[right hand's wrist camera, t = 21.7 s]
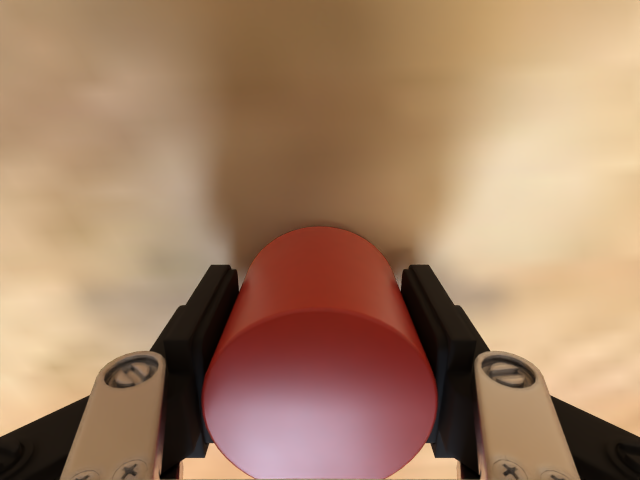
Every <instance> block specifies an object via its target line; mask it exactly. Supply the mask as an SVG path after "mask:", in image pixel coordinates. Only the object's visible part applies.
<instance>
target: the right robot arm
mask: <svg viewBox="0 0 640 480" xmlns="http://www.w3.org/2000/svg"><path fill="white" fill-rule="evenodd" d="M238 294H239V286H238V274H237V270H236V269H231V266H230V265H211V266H210V267H209V269H208V270H207V272H206V274H205V275H204V277H203V278H202V280H201V281H200V283H199V285H198V286H197V288H196V289H195V291H194V292H193V294H192V296H191V297H190V299H189V300H188V302H187V304H186V305H181V306H179V307H178V309H177V310H176V312H175V313H174V315H173V316H172V318H171V319H170V321H169V322H168V324H167V325H166V327H165V328H164V330H163V331H162V333H161V334H160V336H159V337H158V339H157V340H156V342H155V343H154V345H153V346H152V348H151V349H150V351H138V352H133V353H129V354H125V355H123V356H121V357H118V358H116V359H114V360H113V361H111V362H109V363H108V364H107V365H106V366H105V367H103V368H102V369H101V370H100V372H99V374H98V375H97V377H96V380H95V383H94V386H93V388H92V391H91V394H90V395H89V396H87V397H85V398H83V399H81V400H78V401H76V402H74V403H72V404H70V405H68V406H66V407H64V408H61V409H59V410H57V411H55V412H53V413H51V414H49V415H46V416H44V417H42V418H40V419H38V420H36V421H34V422H32V423H29V424H27V425H25V426H23V427H21V428H19V429H17V430H14V431H12V432H10V433H8V434H6V435H4V436H2V437H0V480H640V437H638V436H636V435H634V434H632V433H630V432H628V431H625V430H623V429H621V428H619V427H617V426H615V425H613V424H610V423H608V422H606V421H604V420H602V419H600V418H598V417H595V416H593V415H591V414H589V413H587V412H585V411H583V410H581V409H578V408H576V407H574V406H572V405H570V404H568V403H566V402H563V401H561V400H559V399H557V398H555V397H553V396H551V395H550V394H549V391H548V388H547V386H546V383H545V380H544V377H543V375H542V374H541V372H540V370H539V369H538V368H537V367H535V366H534V365H533V364H532V363H531V362H529V361H527V360H526V359H524V358H522V357H519V356H517V355H515V354H511V353H507V352H502V351H490V350H489V348H488V347H487V345H486V344H485V342H484V341H483V339H482V338H481V336H480V335H479V333H478V332H477V330H476V329H475V327H474V325H473V324H472V322H471V321H470V319H469V318H468V316H467V315H466V313H465V312H464V310H463V309H462V308H461V307H460V306H458V305H454V304H453V302H452V301H451V299H450V298H449V296H448V294H447V293H446V291H445V290H444V288H443V287H442V285H441V283H440V282H439V280H438V279H437V277H436V275H435V274H434V272H433V271H432V269H431V268H430V266H429V265H410V266H409V269H404V270H403V273H402V283H401V294H402V296H403V299H404V301H405V304H406V306H407V309H408V311H409V314H410V316H411V319H412V321H413V324H414V326H415V329H416V331H417V334H418V336H419V339H420V341H421V344H422V346H423V349H424V351H425V353H426V356H427V358H428V361H429V363H430V366H431V368H432V371H433V374H434V377H435V379H436V384H437V390H438V409H437V415H436V420H435V423H434V426H433V429H432V432H431V433H430V435H429V437H428V439H427V441H426V443H431V446H432V450H433V453H434V456H435V458H455V459H457V460H458V462H457V479H183V462H182V460H183V459H185V458H205V455H206V452H207V449H208V446H209V443H214V442H213V440H212V439H211V437H210V434H209V432H208V430H207V428H206V425H205V421H204V418H203V413H202V405H201V394H202V386H203V381H204V377H205V374H206V372H207V369H208V367H209V365H210V362H211V360H212V357H213V355H214V352H215V350H216V347H217V345H218V343H219V340H220V338H221V335H222V333H223V330H224V328H225V326H226V323H227V321H228V318H229V316H230V313H231V311H232V308H233V306H234V304H235V301H236V299H237V296H238Z"/></svg>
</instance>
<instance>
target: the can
mask: <svg viewBox="0 0 640 480" xmlns="http://www.w3.org/2000/svg"><path fill="white" fill-rule="evenodd" d="M201 405H202V413H203V418H204V421H205V425H206V428H207V430H208V432H209V434H210V437H211V439H212V440H213V442H214V443H215V445H216V446H217V448H218V449H219V450H220V452H221V453H222V454H223V455H224V456H225V457H226V458H227V459H228V460H229V461H230V462H231V463H232V464H233V465H235V466H236V467H237V468H238V469H240V470H241V471H243V472H244V473H246V474H247V475H249V476H251V477H253V478H254V479H385V478H387V477H389V476H391V475H392V474H394V473H395V472H397V471H399V470H400V469H401V468H403V467H404V466H405V465H406V464H407V463H409V462H410V461H411V460H412V459H413V458H414V457H415V456H416V455H417V453H418V452H419V451H420V450H421V448H422V447H423V446H424V444H425V443H426V441H427V439H428V437H429V435H430V433H431V432H432V429H433V426H434V423H435V420H436V415H437V409H438V390H437V384H436V379H435V377H434V374H433V371H432V368H431V366H430V363H429V361H428V358H427V356H426V353H425V351H424V349H423V346H422V344H421V341H420V339H419V336H418V334H417V331H416V329H415V326H414V324H413V321H412V319H411V316H410V314H409V311H408V309H407V306H406V304H405V301H404V299H403V296H402V294H401V291H400V289H399V287H398V284H397V282H396V279H395V277H394V274H393V272H392V269H391V267H390V265H389V264H388V262H387V260H386V259H385V258H384V256H383V255H382V254H381V252H380V251H379V250H378V249H377V248H376V247H375V246H373V245H372V244H371V243H370V242H368V241H367V240H365V239H364V238H362V237H360V236H358V235H356V234H354V233H352V232H349V231H346V230H343V229H339V228H333V227H322V226H315V227H306V228H301V229H297V230H294V231H291V232H288V233H286V234H284V235H282V236H280V237H278V238H276V239H275V240H273V241H272V242H270V243H269V244H268V245H267V246H265V247H264V248H263V249H262V250H261V251H260V252H259V254H258V255H257V256H256V257H255V259H254V260H253V262H252V264H251V265H250V267H249V269H248V272H247V274H246V277H245V279H244V282H243V284H242V287H241V289H240V291H239V294H238V296H237V299H236V301H235V304H234V306H233V308H232V311H231V313H230V316H229V318H228V321H227V323H226V326H225V328H224V330H223V333H222V335H221V338H220V340H219V343H218V345H217V347H216V350H215V352H214V355H213V357H212V360H211V362H210V365H209V367H208V369H207V372H206V374H205V377H204V381H203V386H202V394H201Z"/></svg>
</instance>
